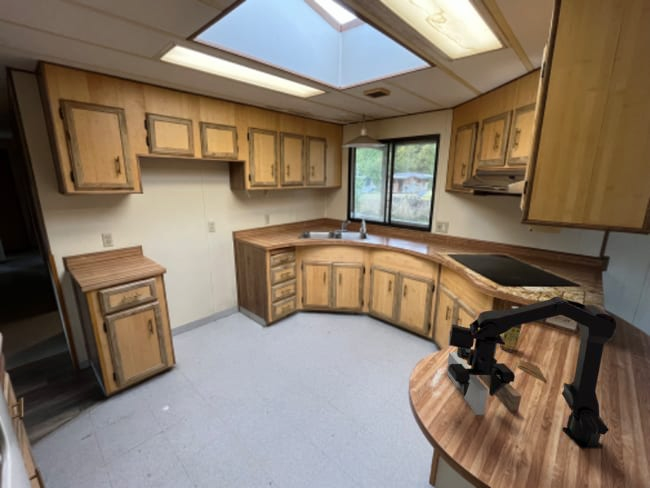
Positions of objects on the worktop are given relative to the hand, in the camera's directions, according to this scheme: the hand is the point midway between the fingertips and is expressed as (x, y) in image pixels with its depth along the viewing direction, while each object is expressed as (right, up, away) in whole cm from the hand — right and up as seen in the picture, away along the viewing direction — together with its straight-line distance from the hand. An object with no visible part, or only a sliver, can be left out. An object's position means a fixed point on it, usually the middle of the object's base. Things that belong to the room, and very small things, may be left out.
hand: (476, 395), depth 91 cm
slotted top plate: (-1, -3, +8) cm, 8 cm away
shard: (+34, -2, +21) cm, 40 cm away
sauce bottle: (+33, +2, +35) cm, 48 cm away
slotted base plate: (+11, -3, +9) cm, 15 cm away
